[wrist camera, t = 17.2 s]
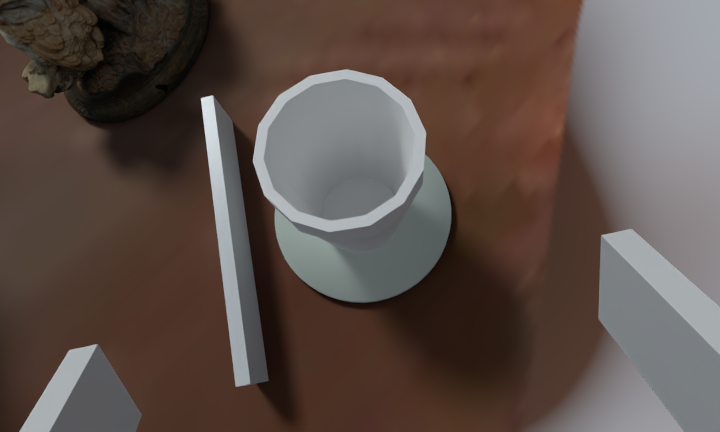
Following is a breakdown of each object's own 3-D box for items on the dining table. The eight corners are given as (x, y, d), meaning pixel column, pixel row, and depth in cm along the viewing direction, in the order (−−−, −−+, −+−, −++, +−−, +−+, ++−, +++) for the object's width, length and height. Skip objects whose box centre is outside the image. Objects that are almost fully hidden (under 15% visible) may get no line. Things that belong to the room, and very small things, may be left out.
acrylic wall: (221, 123, 44) (200, 98, 39) (232, 121, 44) (213, 95, 39) (255, 383, 37) (235, 386, 33) (268, 380, 37) (250, 383, 33)
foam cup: (445, 211, 39) (463, 140, 26) (363, 298, 38) (341, 268, 25) (357, 137, 41) (335, 40, 29) (278, 217, 40) (219, 152, 28)
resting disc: (244, 204, 41) (241, 201, 41) (376, 104, 43) (375, 100, 42) (346, 341, 38) (345, 340, 37) (487, 226, 39) (489, 223, 38)
